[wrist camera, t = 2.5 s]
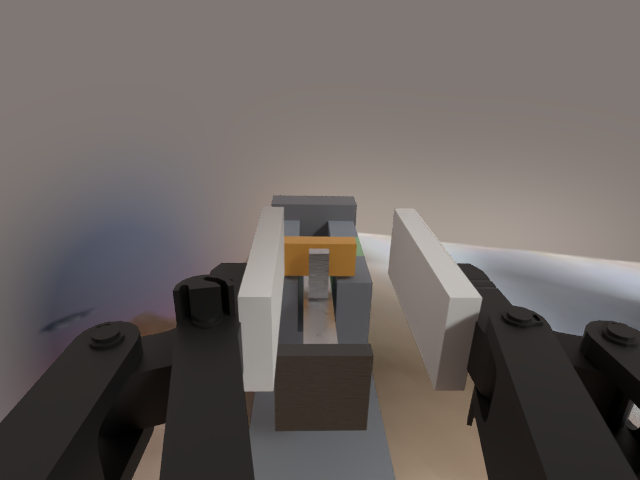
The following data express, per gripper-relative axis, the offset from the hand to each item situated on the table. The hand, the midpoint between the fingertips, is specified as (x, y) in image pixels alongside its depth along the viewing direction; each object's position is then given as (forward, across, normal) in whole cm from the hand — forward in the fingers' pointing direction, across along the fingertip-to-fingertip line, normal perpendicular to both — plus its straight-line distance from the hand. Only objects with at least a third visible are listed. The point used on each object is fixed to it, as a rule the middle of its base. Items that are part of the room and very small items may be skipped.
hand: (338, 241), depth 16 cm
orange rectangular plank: (+18, 0, -11) cm, 21 cm away
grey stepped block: (+21, 0, -22) cm, 30 cm away
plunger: (+15, 0, -16) cm, 22 cm away
